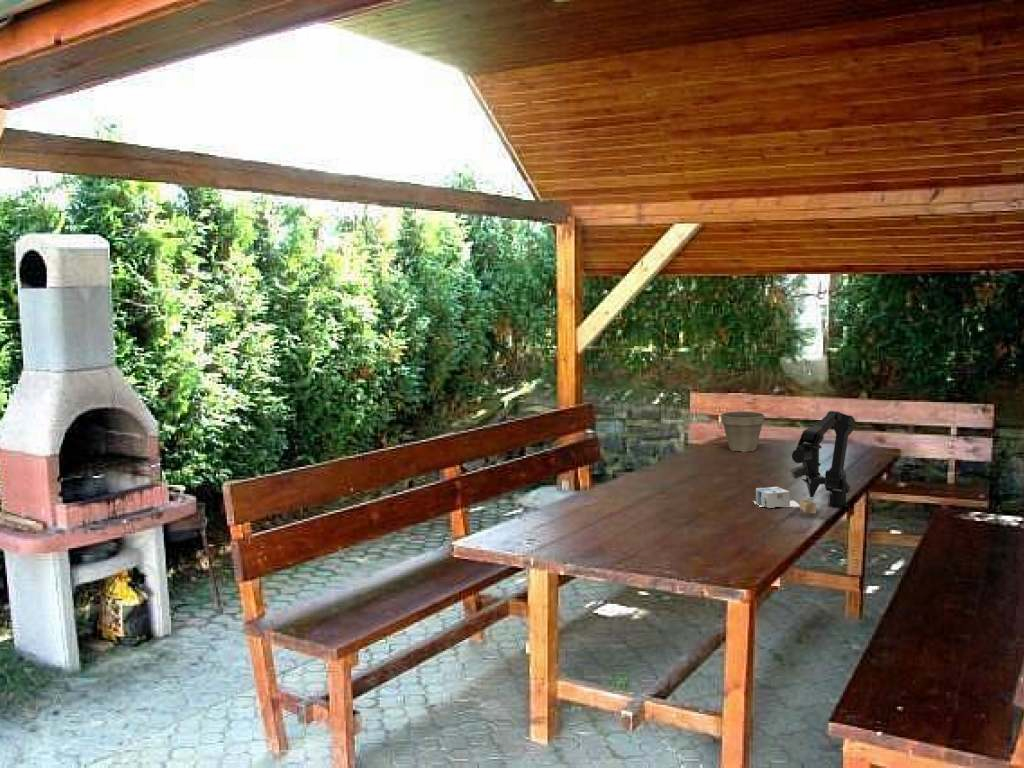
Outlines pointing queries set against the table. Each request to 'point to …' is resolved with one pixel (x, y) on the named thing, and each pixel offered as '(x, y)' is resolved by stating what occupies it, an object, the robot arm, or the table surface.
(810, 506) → the oak block
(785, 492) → the light bulb box
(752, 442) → the plant pot
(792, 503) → the white flat board
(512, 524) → the table surface
